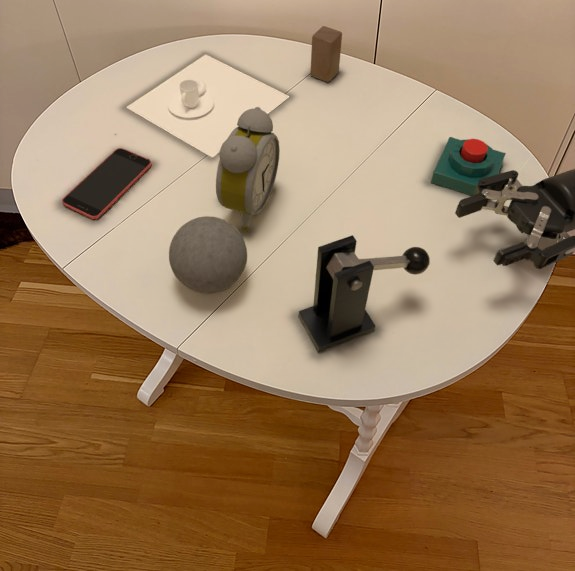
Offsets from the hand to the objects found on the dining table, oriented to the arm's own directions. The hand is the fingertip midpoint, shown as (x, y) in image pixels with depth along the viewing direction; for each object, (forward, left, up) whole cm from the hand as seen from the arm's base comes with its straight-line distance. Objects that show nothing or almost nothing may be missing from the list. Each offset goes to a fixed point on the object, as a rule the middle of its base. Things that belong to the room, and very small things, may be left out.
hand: (476, 234), depth 75 cm
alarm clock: (+32, +1, -9) cm, 34 cm away
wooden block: (+34, -34, -9) cm, 49 cm away
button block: (+4, -20, -9) cm, 22 cm away
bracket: (+12, +14, -9) cm, 21 cm away
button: (+4, -20, -5) cm, 21 cm away
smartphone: (+53, +6, -9) cm, 54 cm away
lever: (+9, +11, 0) cm, 14 cm away
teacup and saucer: (+49, -18, -9) cm, 53 cm away
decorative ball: (+30, +15, -9) cm, 35 cm away
